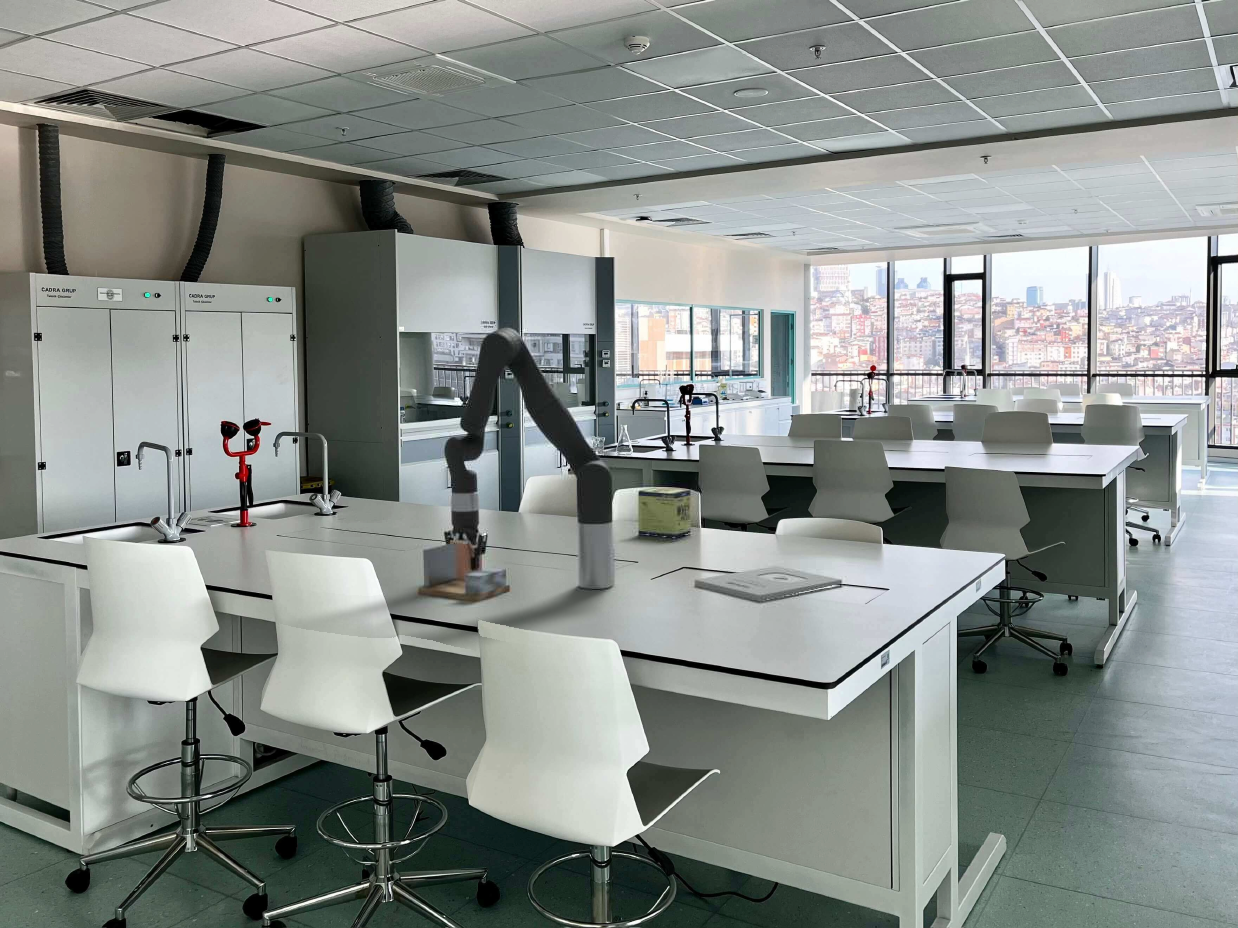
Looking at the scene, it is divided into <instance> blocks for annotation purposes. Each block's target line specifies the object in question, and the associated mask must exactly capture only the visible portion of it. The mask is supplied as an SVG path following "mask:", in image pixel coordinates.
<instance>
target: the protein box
mask: <svg viewBox="0 0 1238 928" xmlns="http://www.w3.org/2000/svg"><path fill="white" fill-rule="evenodd" d="M637 493H638V494H637V495H638V496H637V497H638V504H637V505H638V510H637V511H638V518H637V519H638V520H637V521H638V524H637V525H638V528H637V529H638V534H649V535H657V536H666V537H675V538H674V539H677V538H676V537H679V538H681V537H680V536H683V535H685V534H688V533H690V532H691V531H692V530H691V529H692V528H691V527H692V526H691V520H692V519H691V513H692V512H691V511H692V510H691V505H692V503H691V497H692V496H691V495H692V493H691V489H690V490H689V489H677V488H675V489H674V488H673V489H671V488H660V487H653V488H648V489H643V490H642V489H641V490H638V492H637ZM683 537H684V536H683Z"/></svg>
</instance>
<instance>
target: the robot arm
mask: <svg viewBox="0 0 1238 928" xmlns="http://www.w3.org/2000/svg"><path fill="white" fill-rule="evenodd" d="M478 354H479V356H478V360H477V366H476V371H475V374H474V380H473V382H472V387H471V390H470V393H469V396H468V399H467V401H466V404H465V407H464V409H463V411H462V413H461V417H460V420H459V426H460V428H461V430H463V432H465V433H467V434H466V435H458V436H457V435H456V436H451V437H449V438H448V439H447V440H446V442H445V444H444V451H443V454H444V457H445V462H446V465H447V468H448V471H449V475H450V478H451V481H450V482H451V499H450V514H451V515H450V516H451V519H450V520H451V526H452V530H445V531H444V532H443V536H444V541H445V545H447V544H450V541H453V540H465V541H468V545H469V546H468V549H469V550H470V553H471V556H472V557H471V570H472V571H476V570H478V568H479V557H480V555H482V556H483V555H485V554H486V552H487V551H486V550H487V544H488V537H489V535H488V533H482V532H480V531H479V528H478V527H479V524H480V510H479V509H480V503H479V494H478V474H477V473H476V472H475V470H471V469H467V467H466V464H465V462H474V461H476V460H477V459H479V458H480V457H481V455H482V453H483V451H484V447H485V434H486V433H485V432H486V427H487V425H488V422H489V420H490V417H491V414H492V411H493V408H494V401H495V392H496V391H495V390H496V387H497V383H498V380H499V379H500V376H501V374H502V373H503V371H504V369H505V368H506V367H507V369H508V370H509V371H510V372H511V373H512V375H513V377H514V378H515V379H516V382H517V383H518V386H519V388H520V389H519V390H520V391H521V394H522V395H521V396H522V400H523V403H524V406H525V408H526V411H527V413H528V415H529V416H530V418H531V419H532V421H533V422H534V424H535V425H536V426H537V428H538V430H540V432H541V433H542V434H543V436H544V437H545V439H547V440H548V442H549V443H551V445H553V447H554V448H555V449H557V450H558V452H559V453H560V454H561V455H562V456H563V457H564V459H565V461H566V462H567V463H568V465H569V467H570V469H571V470H572V472H573V474H574V476H575V477H576V509H577V510H576V511H577V557H578V558H577V559H578V560H577V561H578V562H577V563H578V567H577V568H578V569H577V570H578V587H579V588H581V589H582V588H583V589H591V590H599V589H600V590H601V589H607V588H612V587H613V586H614V584H615V549H614V548H613V547H614V542H613V539H614V537H613V536H614V533H613V532H614V531H613V475H612V472H611V469H610V467H609V466H608V465H607V464H606V463H605V462H604V460H602V459H601V457H600V456H599V455H598V454H597V453H596V452H595V450H594V449H593V448H592V446H591V445H590V444H589V443H588V441H587V440H586V439H585V437H584V435H583V433H582V431H581V429H580V427H579V426H578V423H577V422H576V420H575V419H574V417H573V415H572V414H571V411H570V410H569V409H568V407H567V406H566V404H565V402H564V401H563V400H562V399H561V397H560V396H559V395H558V393H557V392H556V391H555V389H554V388H553V386H552V384H551V383H550V382H549V380H548V379H547V377H546V376H545V374H544V373H543V372H542V370H541V369H540V367H539V366H538V364H537V362H536V361H535V359H534V357H533V355H532V353H531V352H530V350H529V348H528V346H527V344H526V342H525V341H524V338H522V336H521V335H520V333H519V332H518V331H516V330H515V329H513V328H511V327H501V328H498V329H496V330H494V331H491V332H490V333H488V334H487V335H485V336H484V338H483V339H482V341H481V345H480V349H479V353H478ZM477 538H478V539H477ZM477 540H478V542H477ZM474 542H475V545H473V546H472V545H471V544H474ZM474 550H475V551H474Z"/></svg>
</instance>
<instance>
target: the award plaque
mask: <svg viewBox="0 0 1238 928" xmlns="http://www.w3.org/2000/svg"><path fill="white" fill-rule="evenodd" d="M841 583H842V584H843V579H840V578H836V577H831V576H826V575H821V574H815V573H811V572H806V571H801V570H797V569H791V568H787V567H782V566H776V565H773V566H767V567H762V568H755V569H752V570H751V569H749V570H744V571H737V572H732V573H725V574H722V575H720V574H719V575H715V576H710V577H709V576H708V577H704V578H698V579H694V587H696V588H697V587H698V588H702V589H705V590H710V591H714V592H718V593H721V592H722V594H725V595H729V596H734V597H737V596H738V597H737V598H741V597H743V598H742V599H745V598H748V599H747V600H749V599H753V600H756V601H755V602H757V601H763V600H767V599H772V598H777V597H782V596H786V595H792V594H796V593H799V592H804V591H809V590H814V589H818V588H823V587H827V586H832V585H836V584H841ZM753 600H752V601H753ZM763 602H764V601H763Z"/></svg>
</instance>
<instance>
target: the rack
mask: <svg viewBox="0 0 1238 928" xmlns="http://www.w3.org/2000/svg"><path fill="white" fill-rule="evenodd" d="M510 591H511V586H510V584H507V569H506V568H497V567H490V568H486V569H482V571H478V572H474V573H471V574H467V575H465V580H464V579H455V580H451V581H447V582H444V583H440V584H436V585H433V586H424V585H423V586H419V587H418V592H417V593H418V594H419V595H420V594H421V595H428V596H433V597H434V596H435V597H442V598H446V599H447V598H448V599H449V598H450V599H454V600H463V601H470V602H477V601H478V602H479V601H481V600H484V599H489V598H491V597H495V596H498V595H501V594H504V593H507V592H510Z"/></svg>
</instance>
